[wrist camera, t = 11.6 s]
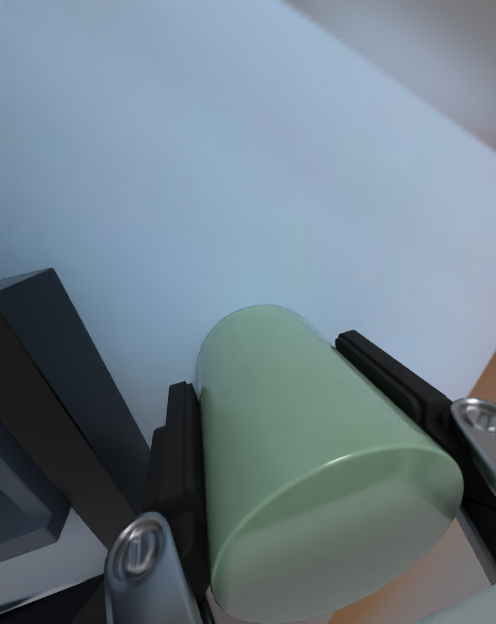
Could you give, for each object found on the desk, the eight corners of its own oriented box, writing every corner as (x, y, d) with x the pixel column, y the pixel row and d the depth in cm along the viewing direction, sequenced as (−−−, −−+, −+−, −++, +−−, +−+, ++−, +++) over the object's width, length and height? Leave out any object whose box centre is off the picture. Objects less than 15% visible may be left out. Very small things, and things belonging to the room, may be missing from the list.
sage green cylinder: (179, 325, 10) (167, 524, 4) (310, 289, 11) (489, 404, 4) (214, 424, 12) (244, 653, 6) (320, 390, 13) (447, 561, 7)
